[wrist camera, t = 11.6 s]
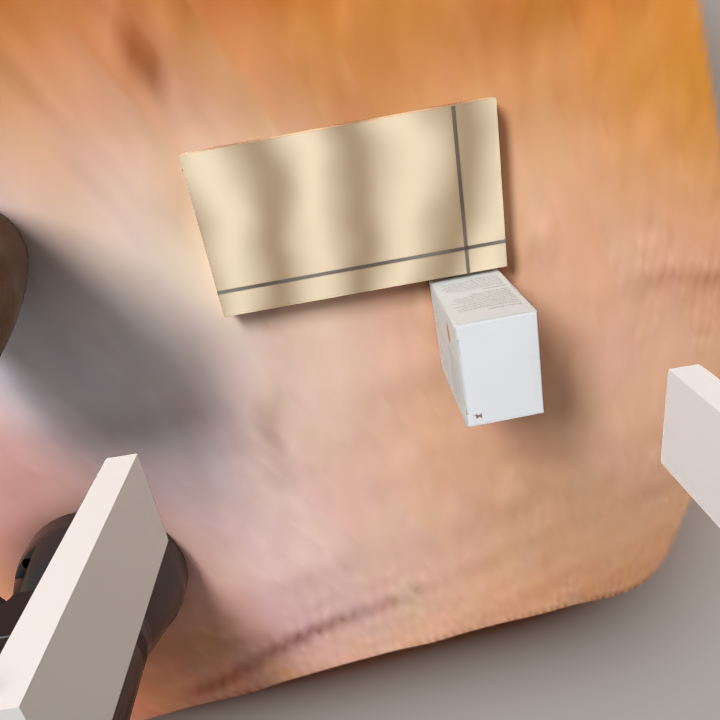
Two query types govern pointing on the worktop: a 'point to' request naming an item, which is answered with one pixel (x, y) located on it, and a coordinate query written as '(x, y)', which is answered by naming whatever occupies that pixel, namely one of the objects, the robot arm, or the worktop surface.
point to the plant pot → (11, 277)
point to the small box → (488, 346)
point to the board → (351, 206)
